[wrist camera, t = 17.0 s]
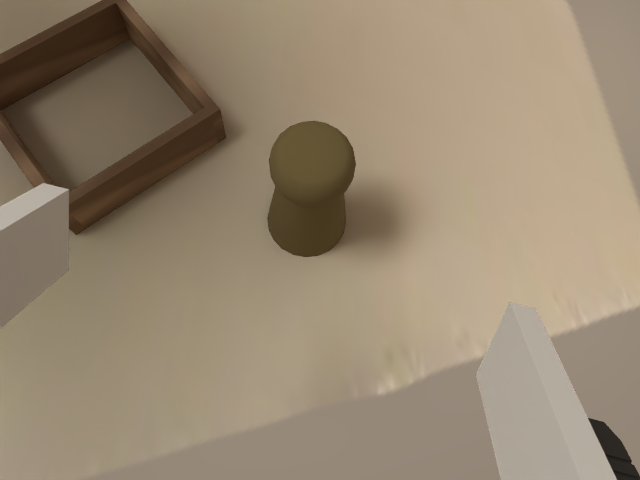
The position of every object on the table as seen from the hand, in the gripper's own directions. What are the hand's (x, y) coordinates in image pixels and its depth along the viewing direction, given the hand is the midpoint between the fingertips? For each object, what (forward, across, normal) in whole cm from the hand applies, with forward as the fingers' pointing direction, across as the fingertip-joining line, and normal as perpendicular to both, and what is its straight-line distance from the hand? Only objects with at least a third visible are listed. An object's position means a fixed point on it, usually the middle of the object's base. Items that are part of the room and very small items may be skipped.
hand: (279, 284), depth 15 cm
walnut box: (+26, -18, -6) cm, 33 cm away
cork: (+24, -1, -8) cm, 25 cm away
